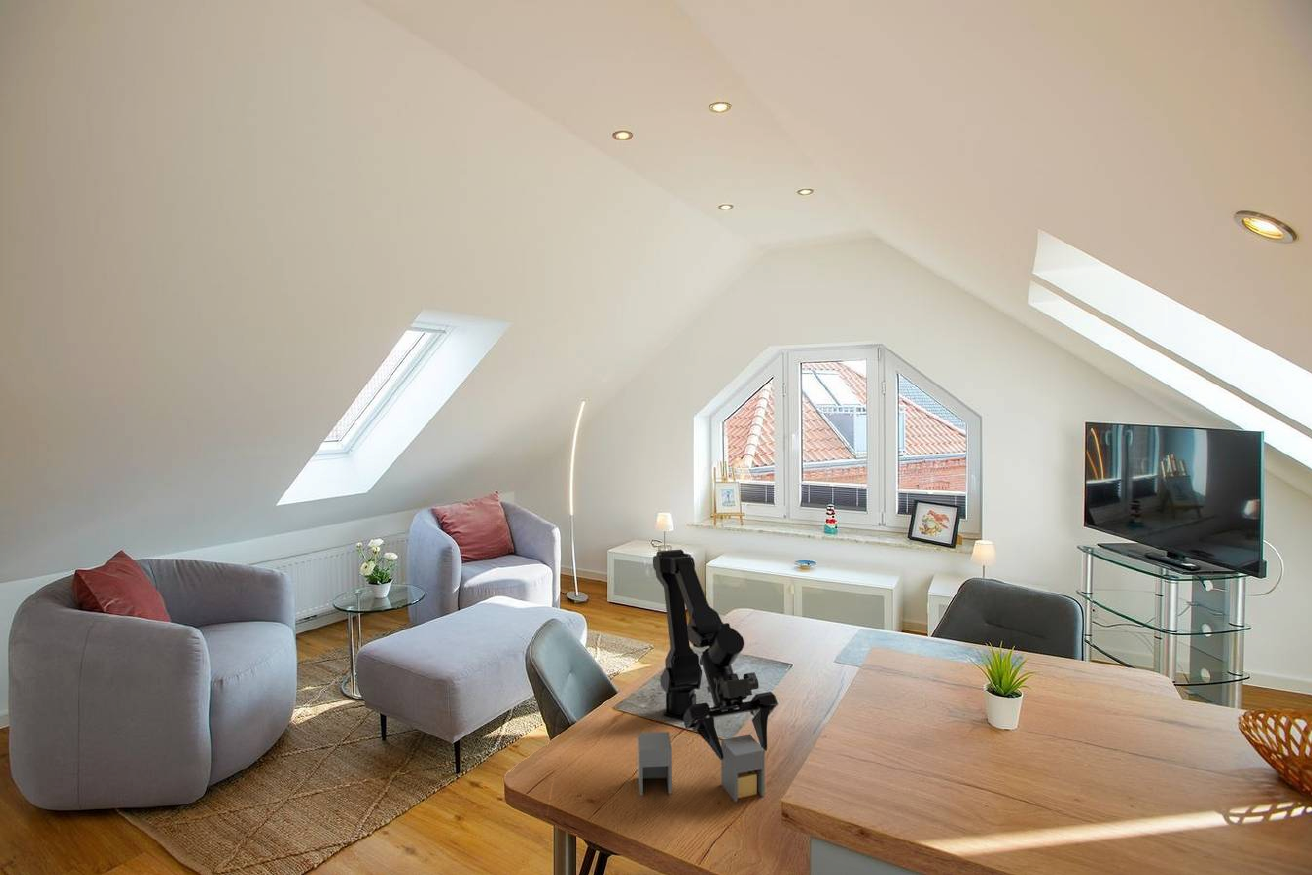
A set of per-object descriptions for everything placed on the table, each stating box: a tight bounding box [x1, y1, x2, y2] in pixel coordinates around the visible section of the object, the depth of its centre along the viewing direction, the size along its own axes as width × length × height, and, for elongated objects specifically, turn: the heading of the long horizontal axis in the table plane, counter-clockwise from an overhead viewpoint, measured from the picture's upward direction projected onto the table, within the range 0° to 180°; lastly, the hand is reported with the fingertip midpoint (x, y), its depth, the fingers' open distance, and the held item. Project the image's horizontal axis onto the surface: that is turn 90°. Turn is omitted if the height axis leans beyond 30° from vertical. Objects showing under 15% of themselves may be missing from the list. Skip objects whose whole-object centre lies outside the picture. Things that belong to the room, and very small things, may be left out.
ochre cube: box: [738, 770, 758, 799], centre depth 125 cm, size 4×4×4 cm
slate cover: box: [637, 731, 673, 797], centre depth 127 cm, size 6×6×9 cm
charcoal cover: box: [720, 734, 766, 804], centre depth 125 cm, size 6×6×9 cm
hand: (744, 754), depth 124 cm, fingers open, 9 cm apart
